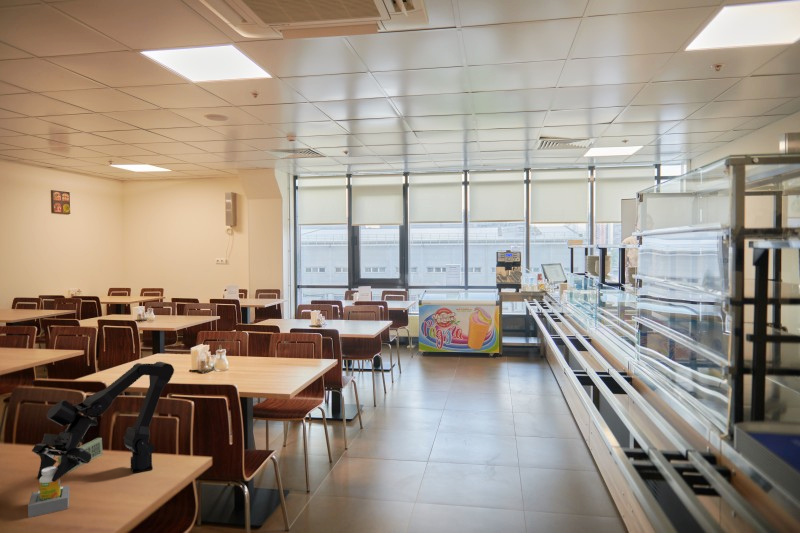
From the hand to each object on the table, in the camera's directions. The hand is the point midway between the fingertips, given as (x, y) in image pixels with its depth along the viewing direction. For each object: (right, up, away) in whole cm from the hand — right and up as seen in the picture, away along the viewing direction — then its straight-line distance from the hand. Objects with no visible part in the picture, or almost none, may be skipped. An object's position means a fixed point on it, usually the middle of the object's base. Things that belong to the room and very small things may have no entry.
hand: (45, 480), depth 160 cm
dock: (0, -9, +2) cm, 9 cm away
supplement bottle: (0, -7, +2) cm, 7 cm away
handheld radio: (-10, -8, +31) cm, 34 cm away
